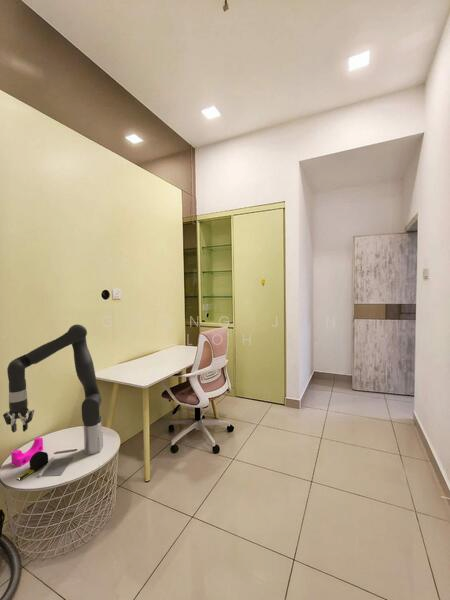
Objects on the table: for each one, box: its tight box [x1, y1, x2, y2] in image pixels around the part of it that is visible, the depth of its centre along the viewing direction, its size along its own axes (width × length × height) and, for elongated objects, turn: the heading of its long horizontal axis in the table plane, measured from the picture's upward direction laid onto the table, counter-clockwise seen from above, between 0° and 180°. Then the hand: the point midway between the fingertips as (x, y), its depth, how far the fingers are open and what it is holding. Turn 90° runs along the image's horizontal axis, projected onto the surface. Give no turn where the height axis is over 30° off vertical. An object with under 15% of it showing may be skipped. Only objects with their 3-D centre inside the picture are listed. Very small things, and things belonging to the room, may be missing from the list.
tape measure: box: [18, 451, 50, 481], centre depth 137 cm, size 15×4×8 cm, turn 164°
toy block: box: [10, 437, 44, 467], centre depth 149 cm, size 15×6×8 cm, turn 164°
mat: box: [37, 456, 73, 478], centre depth 141 cm, size 10×14×2 cm
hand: (19, 431), depth 137 cm, fingers open, 4 cm apart
